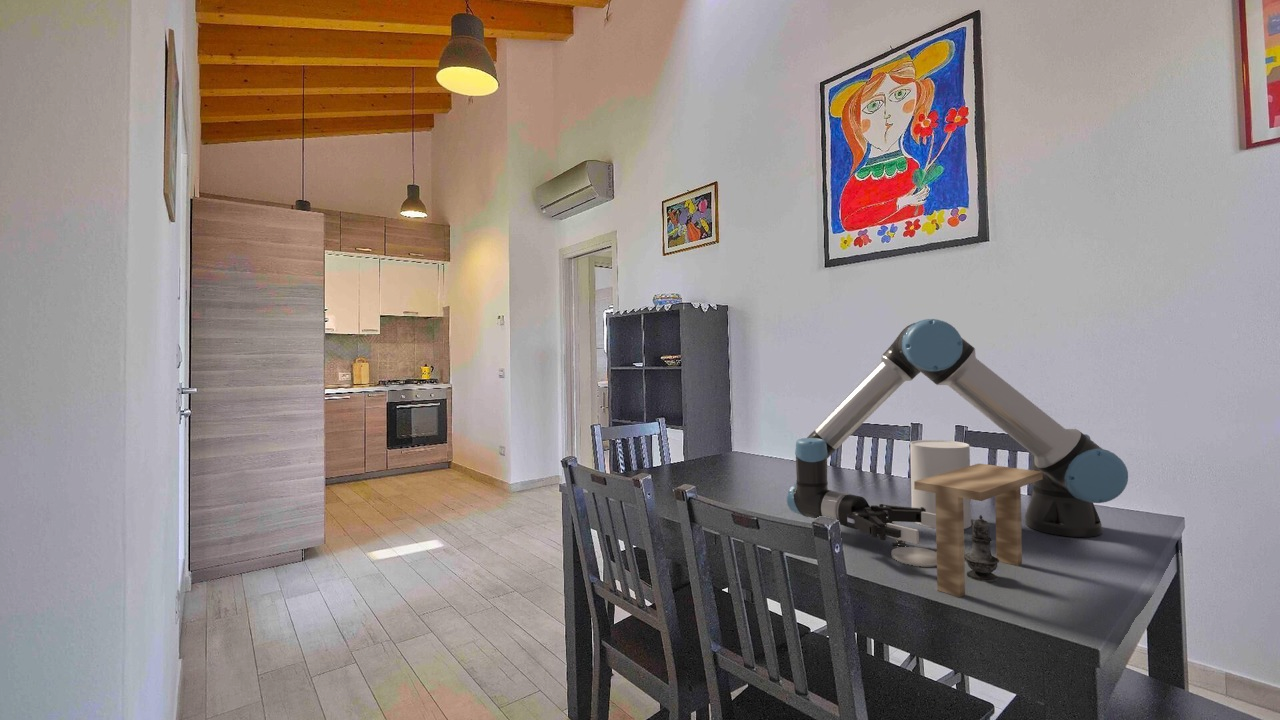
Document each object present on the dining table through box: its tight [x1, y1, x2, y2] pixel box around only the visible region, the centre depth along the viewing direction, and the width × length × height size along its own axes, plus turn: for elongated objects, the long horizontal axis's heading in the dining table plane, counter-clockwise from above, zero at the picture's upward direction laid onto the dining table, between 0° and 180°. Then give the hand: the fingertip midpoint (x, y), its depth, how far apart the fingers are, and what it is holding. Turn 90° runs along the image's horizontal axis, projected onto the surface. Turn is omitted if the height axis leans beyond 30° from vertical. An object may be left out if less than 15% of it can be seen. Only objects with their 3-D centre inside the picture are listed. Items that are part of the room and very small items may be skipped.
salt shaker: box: [964, 514, 1000, 583], centre depth 114 cm, size 6×6×12 cm
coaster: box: [890, 546, 937, 568], centre depth 125 cm, size 10×10×1 cm
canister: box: [909, 439, 972, 530], centre depth 150 cm, size 14×14×20 cm
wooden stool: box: [914, 463, 1043, 598], centre depth 114 cm, size 12×26×20 cm, turn 126°
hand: (935, 530), depth 121 cm, fingers open, 13 cm apart
